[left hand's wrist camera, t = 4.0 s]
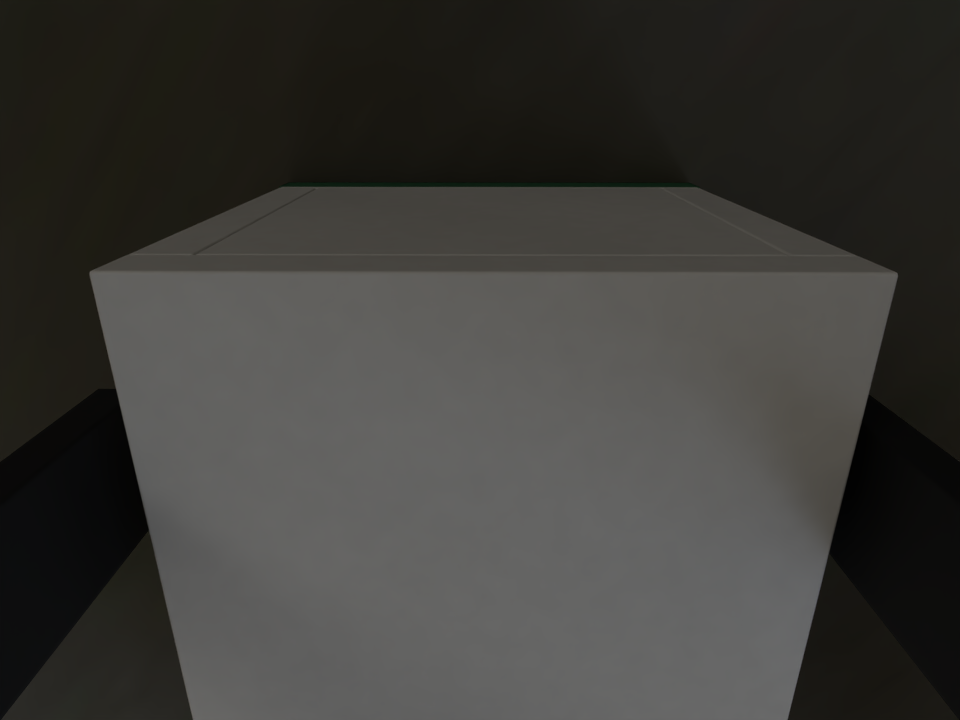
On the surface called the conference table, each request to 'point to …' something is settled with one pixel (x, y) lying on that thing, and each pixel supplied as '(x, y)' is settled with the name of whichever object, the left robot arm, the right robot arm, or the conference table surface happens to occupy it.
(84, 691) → the conference table surface
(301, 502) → the cabinet
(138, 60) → the conference table surface
